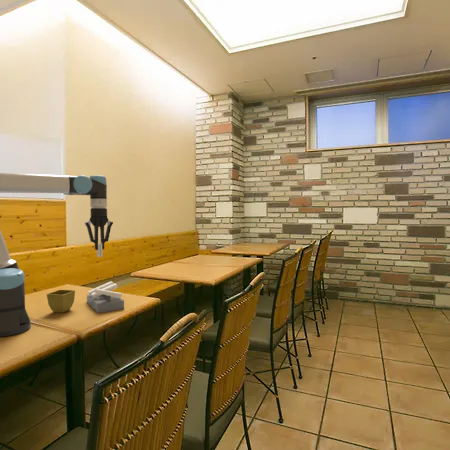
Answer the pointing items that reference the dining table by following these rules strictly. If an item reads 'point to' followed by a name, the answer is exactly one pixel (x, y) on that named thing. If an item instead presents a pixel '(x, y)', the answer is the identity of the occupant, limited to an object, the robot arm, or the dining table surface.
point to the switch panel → (105, 303)
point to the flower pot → (61, 300)
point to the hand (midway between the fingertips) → (99, 256)
